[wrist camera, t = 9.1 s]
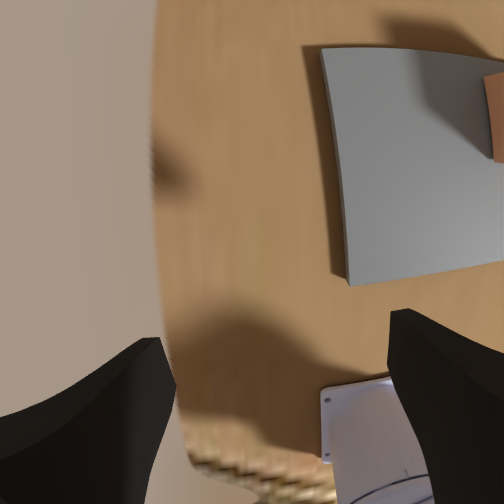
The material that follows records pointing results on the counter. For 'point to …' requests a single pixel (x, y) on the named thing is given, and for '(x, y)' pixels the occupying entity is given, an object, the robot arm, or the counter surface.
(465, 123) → the board
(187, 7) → the counter surface
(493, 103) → the salmon pink block
